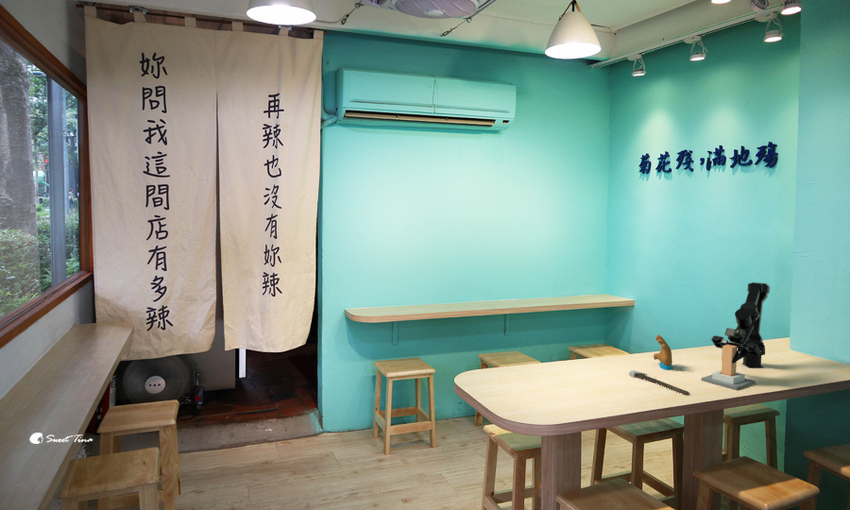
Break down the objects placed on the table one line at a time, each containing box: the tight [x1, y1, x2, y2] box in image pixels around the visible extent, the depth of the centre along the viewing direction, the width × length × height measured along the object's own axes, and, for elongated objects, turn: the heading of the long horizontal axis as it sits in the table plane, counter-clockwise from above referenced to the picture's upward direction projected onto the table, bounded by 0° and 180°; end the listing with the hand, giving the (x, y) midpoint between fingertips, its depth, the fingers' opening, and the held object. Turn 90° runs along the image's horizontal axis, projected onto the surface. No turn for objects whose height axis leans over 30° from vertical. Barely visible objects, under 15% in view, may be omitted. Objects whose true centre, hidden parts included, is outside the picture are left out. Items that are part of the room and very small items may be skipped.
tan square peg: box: [721, 345, 738, 377], centre depth 242 cm, size 4×4×13 cm
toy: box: [653, 334, 673, 371], centre depth 265 cm, size 12×7×15 cm, turn 168°
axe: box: [628, 370, 690, 396], centre depth 241 cm, size 11×3×30 cm
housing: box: [700, 369, 756, 391], centre depth 243 cm, size 15×15×4 cm
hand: (727, 361), depth 241 cm, fingers closed on tan square peg, 4 cm apart
